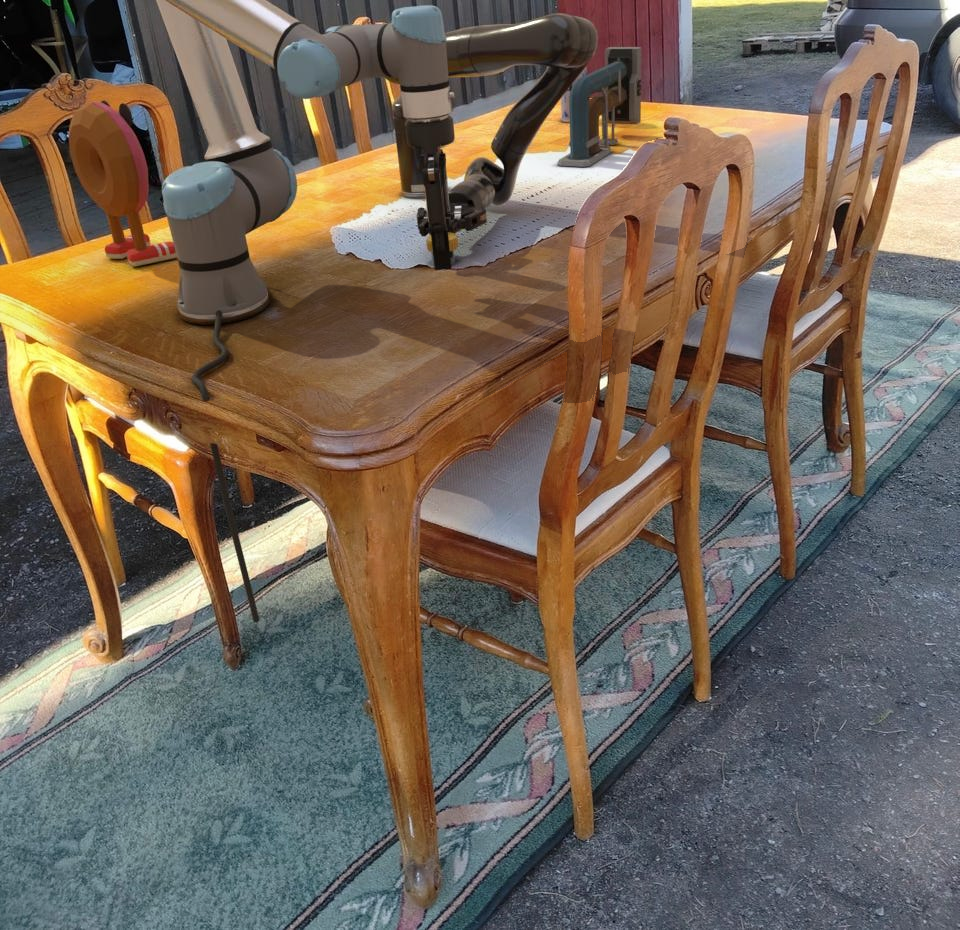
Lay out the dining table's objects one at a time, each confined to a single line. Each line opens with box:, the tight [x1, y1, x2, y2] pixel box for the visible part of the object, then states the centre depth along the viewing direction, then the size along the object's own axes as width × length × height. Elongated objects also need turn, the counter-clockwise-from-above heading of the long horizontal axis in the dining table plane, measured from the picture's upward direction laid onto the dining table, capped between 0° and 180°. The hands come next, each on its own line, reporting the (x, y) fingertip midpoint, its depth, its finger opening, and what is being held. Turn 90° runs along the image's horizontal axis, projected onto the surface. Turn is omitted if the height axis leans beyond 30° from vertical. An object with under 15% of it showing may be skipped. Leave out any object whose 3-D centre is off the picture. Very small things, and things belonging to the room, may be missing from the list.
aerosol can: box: [560, 65, 588, 123], centre depth 273 cm, size 8×8×20 cm
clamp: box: [556, 46, 642, 168], centre depth 239 cm, size 35×9×21 cm, turn 151°
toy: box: [68, 100, 177, 267], centre depth 187 cm, size 21×10×30 cm, turn 47°
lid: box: [425, 232, 459, 253], centre depth 158 cm, size 5×5×2 cm
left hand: (444, 262), depth 160 cm, fingers closed on lid, 5 cm apart
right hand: (435, 231), depth 173 cm, fingers closed on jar, 4 cm apart
